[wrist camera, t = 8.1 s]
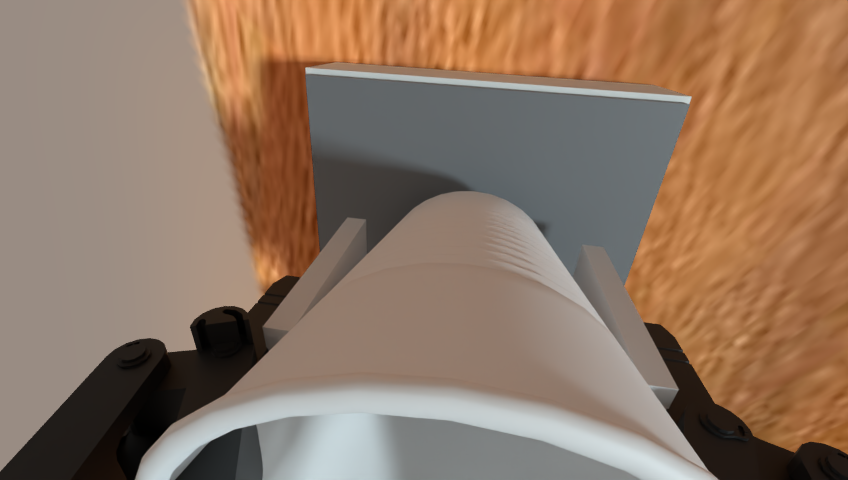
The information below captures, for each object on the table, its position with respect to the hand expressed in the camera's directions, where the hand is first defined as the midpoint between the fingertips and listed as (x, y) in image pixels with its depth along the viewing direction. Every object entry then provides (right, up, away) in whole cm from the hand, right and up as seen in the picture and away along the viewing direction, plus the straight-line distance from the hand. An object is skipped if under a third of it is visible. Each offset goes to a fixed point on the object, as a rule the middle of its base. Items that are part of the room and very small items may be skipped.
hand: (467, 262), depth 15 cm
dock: (+1, +2, +5) cm, 6 cm away
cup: (0, 0, 0) cm, 0 cm away
